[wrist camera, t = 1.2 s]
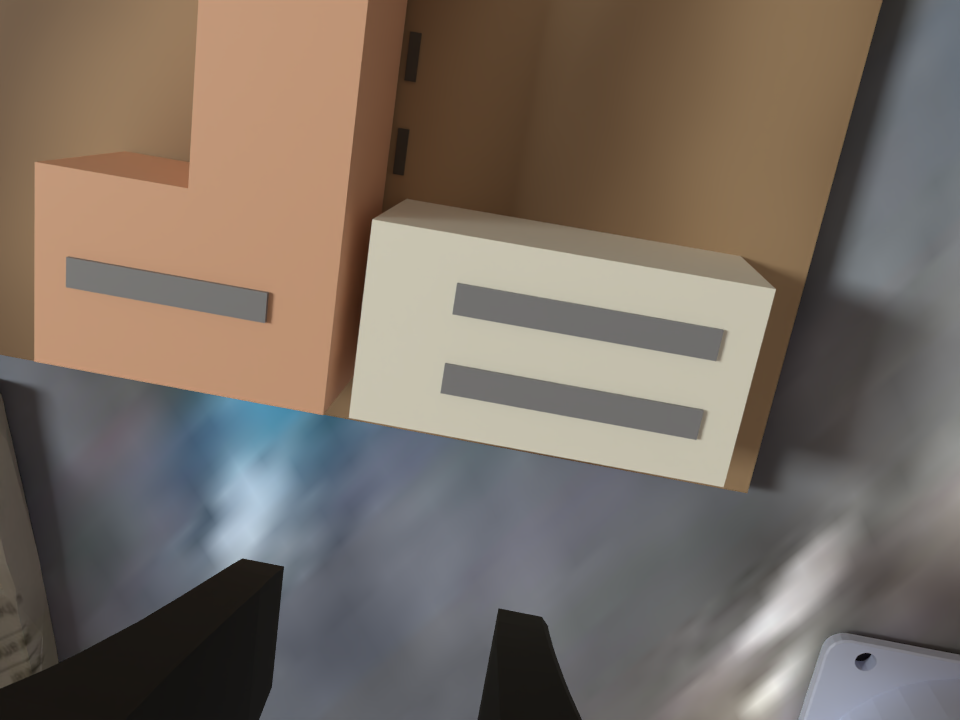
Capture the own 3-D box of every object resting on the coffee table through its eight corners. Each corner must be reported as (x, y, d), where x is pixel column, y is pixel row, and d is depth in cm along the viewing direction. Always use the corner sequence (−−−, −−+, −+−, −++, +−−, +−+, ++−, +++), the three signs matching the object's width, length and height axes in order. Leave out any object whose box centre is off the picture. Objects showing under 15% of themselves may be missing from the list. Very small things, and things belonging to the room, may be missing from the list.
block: (419, -100, 18) (382, -148, 14) (363, 364, 21) (321, 416, 17) (134, -144, 18) (32, -201, 15) (119, 319, 21) (31, 362, 18)
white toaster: (740, 256, 19) (777, 290, 16) (699, 423, 20) (724, 489, 17) (406, 198, 20) (371, 219, 16) (384, 366, 21) (347, 419, 17)
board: (898, -102, 18) (913, -112, 17) (740, 478, 21) (747, 494, 21) (-134, -255, 19) (-166, -272, 18) (-106, 322, 23) (-132, 331, 22)
